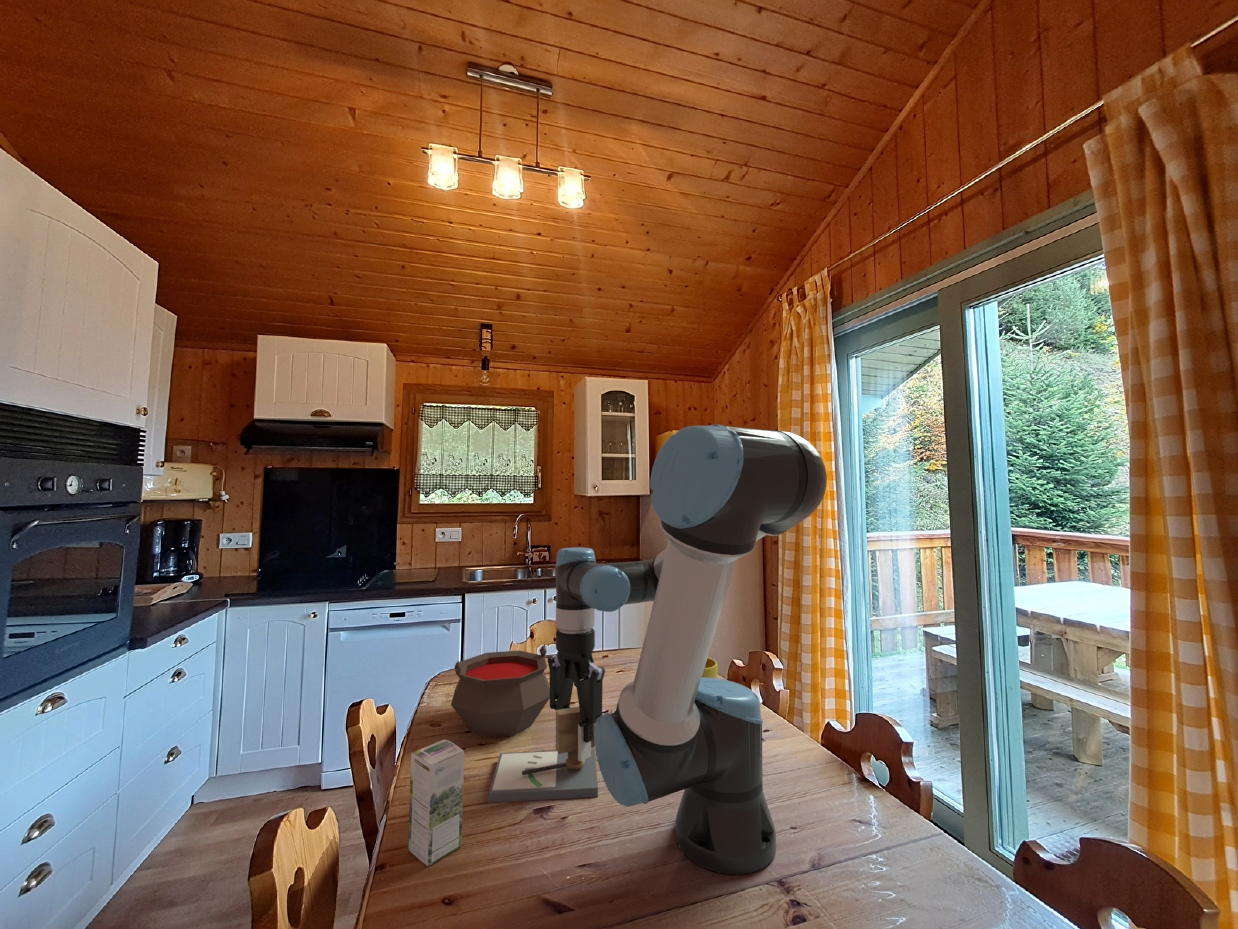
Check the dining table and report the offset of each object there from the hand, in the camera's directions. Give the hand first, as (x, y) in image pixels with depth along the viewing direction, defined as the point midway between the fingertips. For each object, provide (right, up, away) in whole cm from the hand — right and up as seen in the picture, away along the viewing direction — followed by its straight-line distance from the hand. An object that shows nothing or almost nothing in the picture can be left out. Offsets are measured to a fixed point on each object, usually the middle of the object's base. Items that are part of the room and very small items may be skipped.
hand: (574, 753), depth 96 cm
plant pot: (+29, -7, +35) cm, 46 cm away
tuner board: (-5, -4, -1) cm, 7 cm away
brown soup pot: (-19, -6, +22) cm, 30 cm away
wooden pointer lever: (-3, -2, -1) cm, 4 cm away
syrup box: (-19, -3, -20) cm, 28 cm away
